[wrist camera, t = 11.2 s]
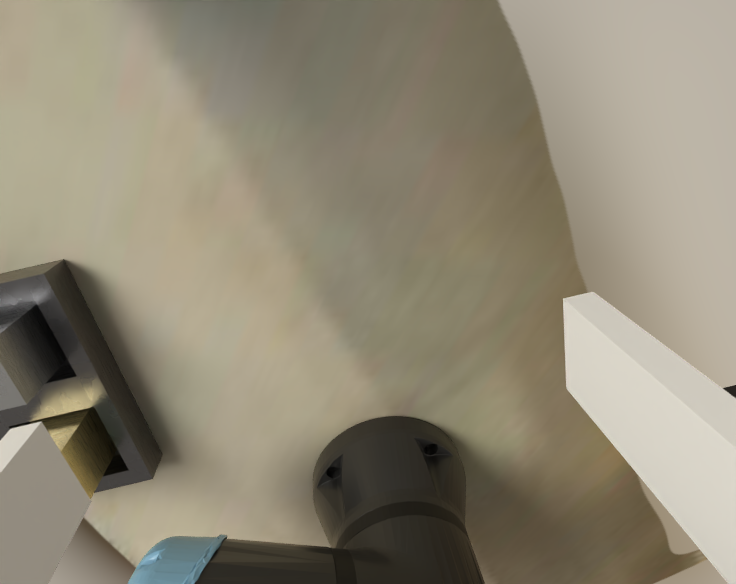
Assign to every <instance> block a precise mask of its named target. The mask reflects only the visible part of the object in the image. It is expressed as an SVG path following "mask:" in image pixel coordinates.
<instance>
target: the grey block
mask: <svg viewBox="0 0 736 584" xmlns="http://www.w3.org/2000/svg"><path fill="white" fill-rule="evenodd" d="M66 360H67V357H66V355H65V354H64V352H63V350H62V348H61V346H60V345H59V343H58V341H57V339H56V337H55V336H54V334H53V332H52V330H51V328H50V327H49V325H48V323H47V321H46V319H45V317H44V316H43V314H42V312H41V310H40V308H39V307H38V305H37V303H36V301H35V300H34V301H30V302H25V303H21V304H17V305H12V306H8V307H4V308H0V411H1V410H5V409H9V408H14V407H18V406H22V405H27V404H28V402H29V401H30V400H31V399H32V398H33V397H34V396H35V395H36V393H37V392H38V391H39V390H40V389H41V388H42V387H43V386H44V384H45V383H46V382H47V381H48V380H49V379H50V378H51V377H52V375H53V374H54V373H55V372H56V371H57V370H58V369H59V368H60V366H61V365H62V364H63V363H64V362H65V361H66Z"/></svg>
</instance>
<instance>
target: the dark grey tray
mask: <svg viewBox="0 0 736 584" xmlns="http://www.w3.org/2000/svg"><path fill="white" fill-rule="evenodd" d="M34 300H35V301H36V303H37V305H38V307H39V308H40V310H41V312H42V314H43V316H44V317H45V319H46V321H47V323H48V325H49V327H50V328H51V330H52V332H53V334H54V336H55V337H56V339H57V341H58V343H59V345H60V346H61V348H62V350H63V352H64V354H65V355H66V357H67V360H66V361H65V362H64V363H63V364H62V365H61V366H60V368H59V369H58V370H57V371H56V372H55V373H54V374H53V375H52V377H51V378H50V379H49V380H48V381H47V382H46V383H45V384H44V386H43V387H42V388H41V389H40V390H39V391H38V392H37V393H36V395H35V396H34V397H33V398H32V399H31V400H30V401H29V402H28V404H27V405H22V406H18V407H14V408H9V409H5V410H1V411H0V440H1V439H2V438H3V437H4V436H5V435H6V434H7V432H8V431H9V430H10V429H12V428H16V427H20V426H24V425H29V424H30V422H31V421H34V420H39V419H43V418H47V417H52V416H56V415H60V414H64V413H69V412H73V411H77V410H82V409H86V408H90V407H94V408H95V410H96V412H97V413H98V415H99V417H100V419H101V421H102V422H103V424H104V426H105V428H106V430H107V431H108V433H109V435H110V437H111V439H112V440H113V442H114V444H115V446H116V448H117V451H116V452H115V454H114V456H113V458H112V460H111V462H110V464H109V466H108V467H107V469H106V471H105V473H104V475H103V477H102V479H101V481H100V482H99V484H98V486H97V488H96V490H95V492H99V491H104V490H108V489H112V488H116V487H120V486H125V485H129V484H133V483H137V482H142V481H146V480H150V479H153V477H154V474H155V472H156V469H157V467H158V464H159V462H160V459H161V457H162V453H161V451H160V449H159V447H158V445H157V443H156V441H155V439H154V437H153V435H152V433H151V431H150V429H149V427H148V425H147V423H146V421H145V419H144V417H143V415H142V413H141V411H140V409H139V407H138V405H137V403H136V401H135V399H134V397H133V395H132V394H131V392H130V390H129V388H128V386H127V384H126V382H125V380H124V378H123V376H122V374H121V372H120V370H119V368H118V366H117V364H116V362H115V360H114V358H113V356H112V354H111V352H110V350H109V348H108V346H107V344H106V342H105V340H104V338H103V336H102V334H101V332H100V330H99V328H98V326H97V324H96V322H95V320H94V318H93V316H92V314H91V312H90V310H89V308H88V306H87V304H86V302H85V300H84V298H83V296H82V294H81V292H80V290H79V288H78V286H77V284H76V282H75V281H74V279H73V277H72V275H71V273H70V271H69V269H68V267H67V265H66V263H65V261H64V259H63V260H59V261H54V262H50V263H46V264H41V265H37V266H33V267H28V268H24V269H19V270H15V271H11V272H6V273H2V274H0V308H4V307H8V306H12V305H17V304H21V303H25V302H30V301H34ZM95 492H94V493H95Z"/></svg>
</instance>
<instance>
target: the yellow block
mask: <svg viewBox="0 0 736 584" xmlns="http://www.w3.org/2000/svg"><path fill="white" fill-rule="evenodd" d="M41 421H42V423H43V425H44V426H45V428H46V429H47V431H48V433H49V434H50V436H51V437H52V439H53V441H54V442H55V444H56V445H57V447H58V449H59V450H60V452H61V453H62V455H63V457H64V458H65V460H66V461H67V463H68V465H69V466H70V468H71V469H72V471H73V473H74V474H75V476H76V477H77V479H78V481H79V482H80V484H81V485H82V487H83V488H84V490H85V492H86V493H87V495H88V496H89V498H90V499H91V497H92V496H93V494H94V492H95V490H96V488H97V486H98V484H99V482H100V481H101V479H102V477H103V475H104V473H105V471H106V469H107V467H108V466H109V464H110V462H111V460H112V458H113V456H114V454H115V452H116V451H117V448H116V446H115V444H114V442H113V440H112V439H111V437H110V435H109V433H108V431H107V430H106V428H105V426H104V424H103V422H102V421H101V419H100V417H99V415H98V413H97V412H96V410H95V408H94V407H90V408H86V409H82V410H77V411H73V412H69V413H64V414H60V415H56V416H52V417H47V418H43V419H39V420H34V421H31V422H30V424H33V423H37V422H41Z"/></svg>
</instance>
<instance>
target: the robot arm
mask: <svg viewBox="0 0 736 584" xmlns="http://www.w3.org/2000/svg"><path fill="white" fill-rule="evenodd" d="M563 309H564V336H565V363H566V388H567V390H568V391H569V392H570V393H571V394H572V396H573V397H574V398H575V399H576V400H577V402H578V403H579V404H580V405H581V407H582V408H583V409H584V410H585V411H586V413H587V414H588V415H589V416H590V417H591V419H592V420H593V421H594V422H595V423H596V425H597V426H598V427H599V428H600V429H601V431H602V432H603V433H604V434H605V436H606V437H607V438H608V439H609V440H610V442H611V443H612V444H613V445H614V446H615V448H616V449H617V450H618V451H619V452H620V454H621V455H622V456H623V457H624V458H625V460H626V461H627V462H628V463H629V464H630V466H631V467H632V468H633V469H634V471H635V472H636V473H637V474H638V475H639V477H640V478H641V479H642V480H643V481H644V482H645V484H646V485H647V486H648V487H649V489H650V490H651V491H652V492H653V493H654V495H655V496H656V497H657V498H658V499H659V501H660V502H661V503H662V504H663V505H664V507H665V508H666V509H667V510H668V512H669V513H670V514H671V515H672V516H673V518H674V519H675V520H676V521H677V522H678V523H679V525H680V526H681V527H682V528H683V530H684V531H685V532H686V533H687V534H688V536H689V537H690V538H691V539H692V541H693V542H694V543H695V544H696V545H697V546H698V548H699V549H700V550H701V551H702V553H703V554H704V555H705V556H706V557H707V559H708V560H709V561H710V562H711V563H712V564H713V566H714V567H715V568H716V569H717V571H718V572H719V573H720V574H721V575H722V576H723V578H724V579H725V580H726V581H727V583H728V584H736V385H734V386H730V387H726V388H721V387H720V386H719V385H717V384H716V383H715V382H713V381H712V380H711V379H709V378H708V377H706V376H705V375H704V374H703V373H701V372H700V371H699V370H697V369H696V368H695V367H693V366H692V365H691V364H689V363H688V362H687V361H685V360H684V359H683V358H681V357H680V356H679V355H677V354H676V353H674V352H673V351H672V350H670V349H669V348H668V347H666V346H665V345H664V344H662V343H661V342H660V341H658V340H657V339H656V338H654V337H653V336H652V335H650V334H649V333H648V332H646V331H645V330H644V329H642V328H641V327H640V326H638V325H637V324H636V323H634V322H633V321H632V320H630V319H629V318H628V317H626V316H625V315H624V314H622V313H621V312H620V311H618V310H617V309H616V308H614V307H613V306H612V305H610V304H609V303H608V302H606V301H605V300H604V299H602V298H601V297H599V296H598V295H597V294H596V293H594V292H590V293H585V294H581V295H577V296H572V297H568V298H564V299H563ZM465 499H466V478H465V472H464V468H463V465H462V462H461V459H460V457H459V454H458V452H457V449H456V447H455V446H454V444H453V442H452V441H451V440H450V438H449V437H448V436H447V435H446V434H445V433H444V432H442V431H441V430H440V429H438V428H437V427H435V426H433V425H431V424H429V423H427V422H424V421H421V420H418V419H414V418H408V417H383V418H377V419H372V420H369V421H365V422H362V423H360V424H357V425H355V426H353V427H351V428H349V429H347V430H346V431H344V432H343V433H341V434H340V435H338V436H337V437H336V438H335V439H333V440H332V441H331V442H330V443H329V444H328V446H327V447H326V448H325V449H324V451H323V452H322V453H321V455H320V457H319V459H318V461H317V463H316V466H315V469H314V475H313V500H314V505H315V510H316V513H317V515H318V517H319V520H320V522H321V525H322V527H323V529H324V532H325V534H326V536H327V539H328V541H329V543H330V546H331V548H328V547H319V546H307V545H295V544H283V543H271V542H259V541H247V540H235V539H227V535H219V536H218V537H188V536H175V537H170V538H166V539H164V540H162V541H160V542H159V543H157V544H156V545H155V546H153V547H152V548H151V549H150V550H149V551H148V552H147V554H146V555H145V556H144V557H143V559H142V560H141V562H140V563H139V565H138V566H137V568H136V569H135V571H134V573H133V575H132V577H131V578H130V580H129V582H128V584H485V583H484V580H483V577H482V574H481V571H480V568H479V566H478V563H477V560H476V557H475V554H474V551H473V549H472V546H471V543H470V540H469V538H468V535H467V531H466V528H465ZM90 503H91V500H90V498H89V496H88V495H87V493H86V492H85V490H84V488H83V487H82V485H81V484H80V482H79V481H78V479H77V477H76V476H75V474H74V473H73V471H72V469H71V468H70V466H69V465H68V463H67V461H66V460H65V458H64V457H63V455H62V453H61V452H60V450H59V449H58V447H57V445H56V444H55V442H54V441H53V439H52V437H51V436H50V434H49V433H48V431H47V429H46V428H45V426H44V425H43V423H42V421H41V422H37V423H33V424H29V425H24V426H20V427H16V428H12V429H10V430H9V431H8V432H7V434H6V435H5V436H4V437H3V438H2V439H1V440H0V584H48V583H49V581H50V579H51V577H52V575H53V573H54V571H55V570H56V568H57V566H58V564H59V562H60V560H61V558H62V556H63V555H64V553H65V551H66V549H67V547H68V545H69V543H70V541H71V539H72V537H73V536H74V533H75V532H76V530H77V528H78V526H79V524H80V522H81V520H82V519H83V517H84V515H85V513H86V511H87V509H88V507H89V505H90Z"/></svg>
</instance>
